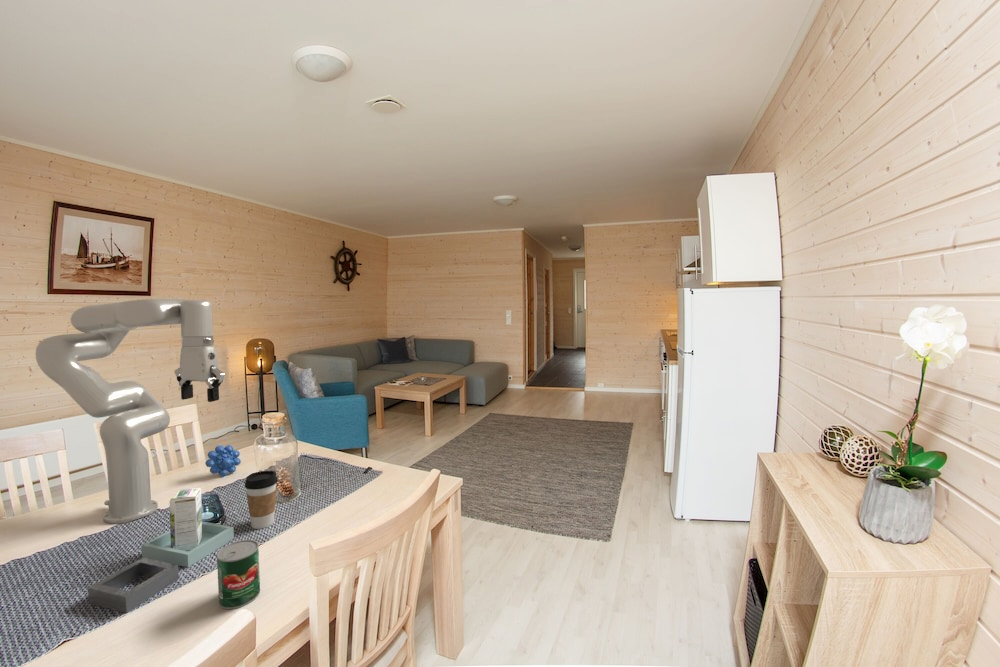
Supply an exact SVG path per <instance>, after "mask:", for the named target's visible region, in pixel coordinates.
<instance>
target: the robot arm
mask: <svg viewBox="0 0 1000 667" xmlns="http://www.w3.org/2000/svg"><path fill="white" fill-rule="evenodd" d="M70 323H71V325H72V327H73V328H74V329H75V330H77V331H78V332H79V333H77V332H76V333H67V334H66V333H64V334H58V335H57V334H56V335H53V336H49V337H46V338H45V339H43V340H41V341H40V342H39V343H38V344H37V345H36V348H35V359H36V363H37V366H38V367H39V369H40V370H41V371H42V372H43V374H45V376H47V377H48V379H50V380H51V381H53V382H54V383H55V384H57V385H58V386H60V387H61V388H62V389H63V390H64V391H65V392H66V393H67V395H69V397H70V398H71V399H72V400H73V401H74V402H75V403H76V404H77V405H78V406H79V407H80V408H81V409H82V410H84V412H85V413H86V414H88V416H91V417H92V418H97V419H99V418H104V417H106V419H104V421H103V422H102V423H101V424H100V426H99V435H100V439H101V443H102V444H103V447H104V448H103V449H104V452H105V460H106V471H107V486H108V488H107V489H108V500H107V499H106V500H105V501H104V502H103V503H104V504H103V505H105V506H108V510H107V511H106V512H105V513H103V516H102V520H103V522H105V523H107V524H121V523H127V522H132V521H136V520H138V519H141V518H144V517H145V516H148V515H150V514H152V513H153V512H154V511H156V510H157V509H158V506H159V505H158V501H156V500H154V499H152V495H151V477H150V460H149V452H148V450H147V448H146V446H144V445H143V443H142V442H141V440H143V439H145V438H148V437H150V436H154V435H156V434H157V435H158V433H162V432H163V431H165V430H166V429H167V428H168V427H169V425H170V422H171V419H170V418H171V417H170V415H169V412H168V410H167V409H166V408H165V406H164V405H163V404H162V403H161V402H160V401H159V400H158V399H157V398H156V397H155V396H154V395H153V394H152V393H151V392H150V391H149V390H148V388H146V386H144V385H143V384H141V383H139V382H137V381H132V380H126V381H119V382H114V383H113V382H108V380H106V379H104V378H103V377H102V375H101V374H100V373H99V372H97V371H96V370H94V369H93V368H91V367H89V366H87V365H84V364H81V363H79V362H83V361H90V360H96V359H97V360H98V359H103V358H107V357H108V356H110V355H111V354H113V353H114V352H115V351H116V350H117V348H118V347H119V346H120V344H121V343H122V341H123V340H124V339H125V338H126V336H127V335H128V334H129V333H130V331H133V330H136V329H137V328H140V327H156V326H171V325H173V326H174V325H180V333H181V335H180V336H181V337H180V338H181V349H180V356H179V367H177V369H174V375H175V376H176V380H177V382H178V386H179V387H180V398H181V400H183V401H184V400H188V399H192V398H193V397H194V386H193V384H192V382H201V383H204V382H205V384H206V385H207V386H208V388H207V389H206V390H207V391H206V393H207V394H206V395H207V402H208V403H211V402H215V401H219V400H220V389H219V388H220V387H221V384H222V383H223V381H224V377H225V372H223V371H222V370H220V369H221V368H220V361H219V355H218V351H217V347H216V346H214V342H215V340H214V323H213V304H212V302H211V301H209V300H205V299H184V298H144V299H135V300H126V301H118V302H111V303H110V302H109V303H101V304H93V305H86V306H82V307H79V308H78V309H76V310H75V311H73V313H72V314H71V317H70ZM80 332H81V333H80Z"/></svg>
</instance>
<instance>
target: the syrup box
mask: <svg viewBox="0 0 1000 667" xmlns="http://www.w3.org/2000/svg"><path fill="white" fill-rule="evenodd" d="M202 505H203V504H202V488H201V487H193V488H185V489H179V490H176V491H175V493H174V494H173V495H172V496H171V498H170V500H169V525H170V529H169V530H170V534H171V548H173V549H178V550H183V551H188V550H192V549H194V548H196V547H197V546H199V544H200V541H201V539H202V521H203V513H202V512H203V511H202V510H203V506H202Z"/></svg>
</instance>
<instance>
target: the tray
mask: <svg viewBox="0 0 1000 667" xmlns="http://www.w3.org/2000/svg"><path fill="white" fill-rule="evenodd" d="M234 529H235V528H234V526H230V525H223V524H220V523H214V522H208V521H207V522H206V521H203V520H202V539H201V541H200V544H199V546H197V547H196V548H194V549H192V550H188V551H183V550H178V549H173V548H171V534H170V529H169V530H167V531H166V532H164V533H162V534H160V535H158V536H157V537H155V538H153V539H151V540H149V541H147V542H145V543H143V544H141V556H142V557H141V558H147V559H151V560H156V561H160V562H165V563H170V564H174V565H178V567H179V566H180V567H185V568H190V567H192V566H193V565H195V564H196V563H198V562H199V561H201V560H202V559H204V558H206V557H207V556H209V555H211V553H214V552H215V551H217V550H218V549H220V548H222V547H224V545H226V544H228V543H229V542H232V540H233V539H234V538H235V534H234V533H235V531H234Z"/></svg>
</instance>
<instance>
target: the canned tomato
mask: <svg viewBox="0 0 1000 667" xmlns="http://www.w3.org/2000/svg"><path fill="white" fill-rule="evenodd" d="M259 547H260V546H259V542H258V541H256V540H253V539H244V540H238V541H234V542H231V543H229V544H227V545H225V546H222V547H221V549H219V550H218V552H217V554H216V565H217V566H216V567H217V585H218V586H217V587H218V588H217V589H218V590H217V591H218V605H219V607H220V608H222V609H224V610H235V609H239V608H242V607H244V606H246V605H248V604H250V603H252V602H253V601H255V600H256V599H257V598H258V597H259V595H260V593H261V586H260V585H261V582H260V580H261V578H260V576H261V575H260V554H259V553H260V552H259V550H260V549H259Z"/></svg>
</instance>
